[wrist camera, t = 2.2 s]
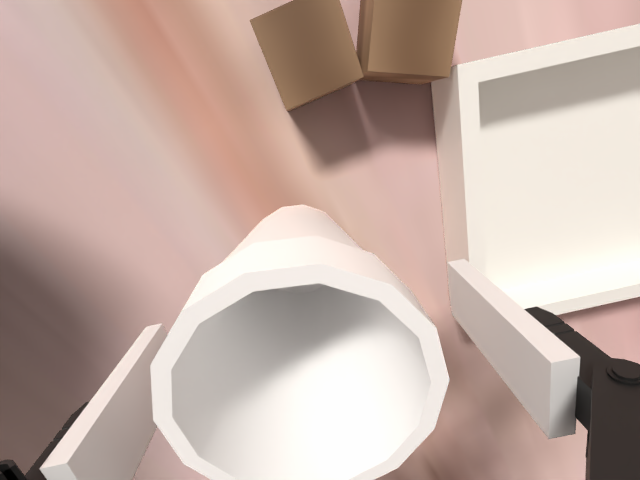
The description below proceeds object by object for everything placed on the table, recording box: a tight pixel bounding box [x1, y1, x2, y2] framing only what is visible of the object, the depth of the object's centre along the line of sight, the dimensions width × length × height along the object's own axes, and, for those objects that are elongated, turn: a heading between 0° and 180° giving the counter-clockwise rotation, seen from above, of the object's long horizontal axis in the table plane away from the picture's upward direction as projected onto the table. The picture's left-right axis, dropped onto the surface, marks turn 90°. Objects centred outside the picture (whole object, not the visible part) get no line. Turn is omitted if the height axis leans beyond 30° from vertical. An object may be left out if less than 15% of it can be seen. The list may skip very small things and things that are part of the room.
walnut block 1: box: [250, 0, 364, 112], centre depth 17 cm, size 4×4×4 cm
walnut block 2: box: [356, 0, 462, 84], centre depth 17 cm, size 4×4×4 cm
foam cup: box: [150, 205, 450, 480], centre depth 17 cm, size 10×9×13 cm
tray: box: [431, 24, 640, 315], centre depth 21 cm, size 20×16×4 cm
